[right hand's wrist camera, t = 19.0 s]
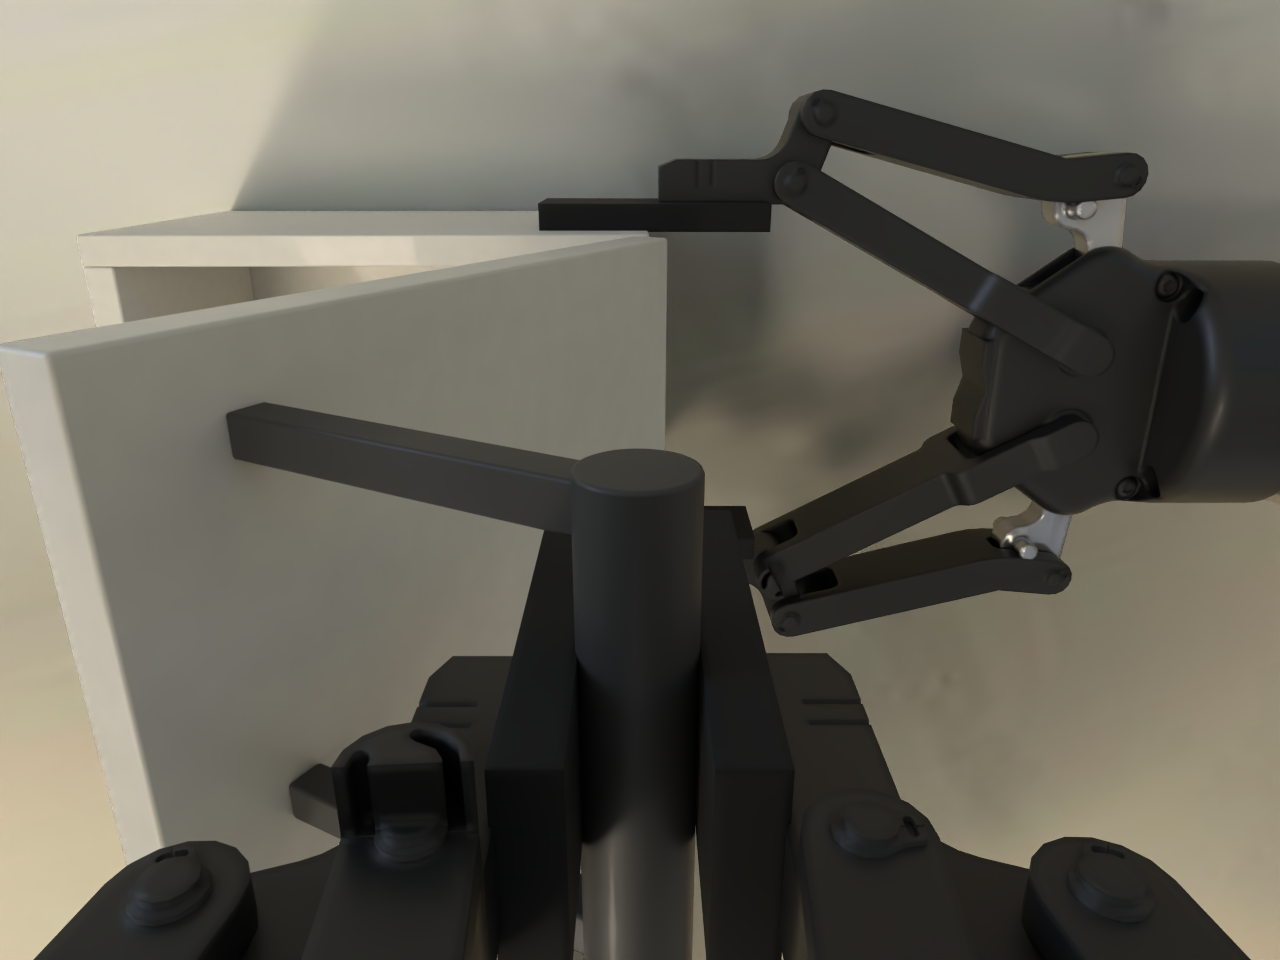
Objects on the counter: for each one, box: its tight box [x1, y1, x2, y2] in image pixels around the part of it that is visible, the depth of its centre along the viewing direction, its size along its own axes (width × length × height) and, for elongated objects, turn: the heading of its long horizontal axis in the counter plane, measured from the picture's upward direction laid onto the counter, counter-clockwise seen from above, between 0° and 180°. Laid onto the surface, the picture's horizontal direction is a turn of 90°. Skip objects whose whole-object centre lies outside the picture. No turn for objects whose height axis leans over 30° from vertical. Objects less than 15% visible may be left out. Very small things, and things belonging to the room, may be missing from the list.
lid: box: [0, 236, 705, 960], centre depth 17 cm, size 16×10×8 cm
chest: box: [76, 211, 649, 327], centre depth 30 cm, size 15×10×10 cm, turn 90°
